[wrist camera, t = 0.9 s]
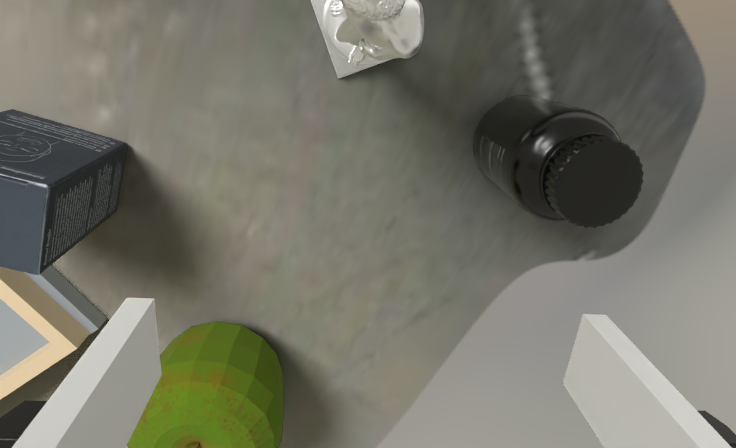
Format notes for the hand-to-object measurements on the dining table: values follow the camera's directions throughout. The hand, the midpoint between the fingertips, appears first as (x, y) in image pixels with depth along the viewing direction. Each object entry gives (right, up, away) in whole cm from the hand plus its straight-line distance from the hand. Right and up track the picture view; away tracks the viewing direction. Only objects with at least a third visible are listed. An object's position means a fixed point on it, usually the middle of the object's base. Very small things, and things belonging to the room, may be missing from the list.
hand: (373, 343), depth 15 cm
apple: (-12, -8, +27) cm, 31 cm away
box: (-22, +8, +20) cm, 31 cm away
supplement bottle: (+11, +10, +21) cm, 26 cm away
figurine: (-1, +18, +17) cm, 25 cm away
